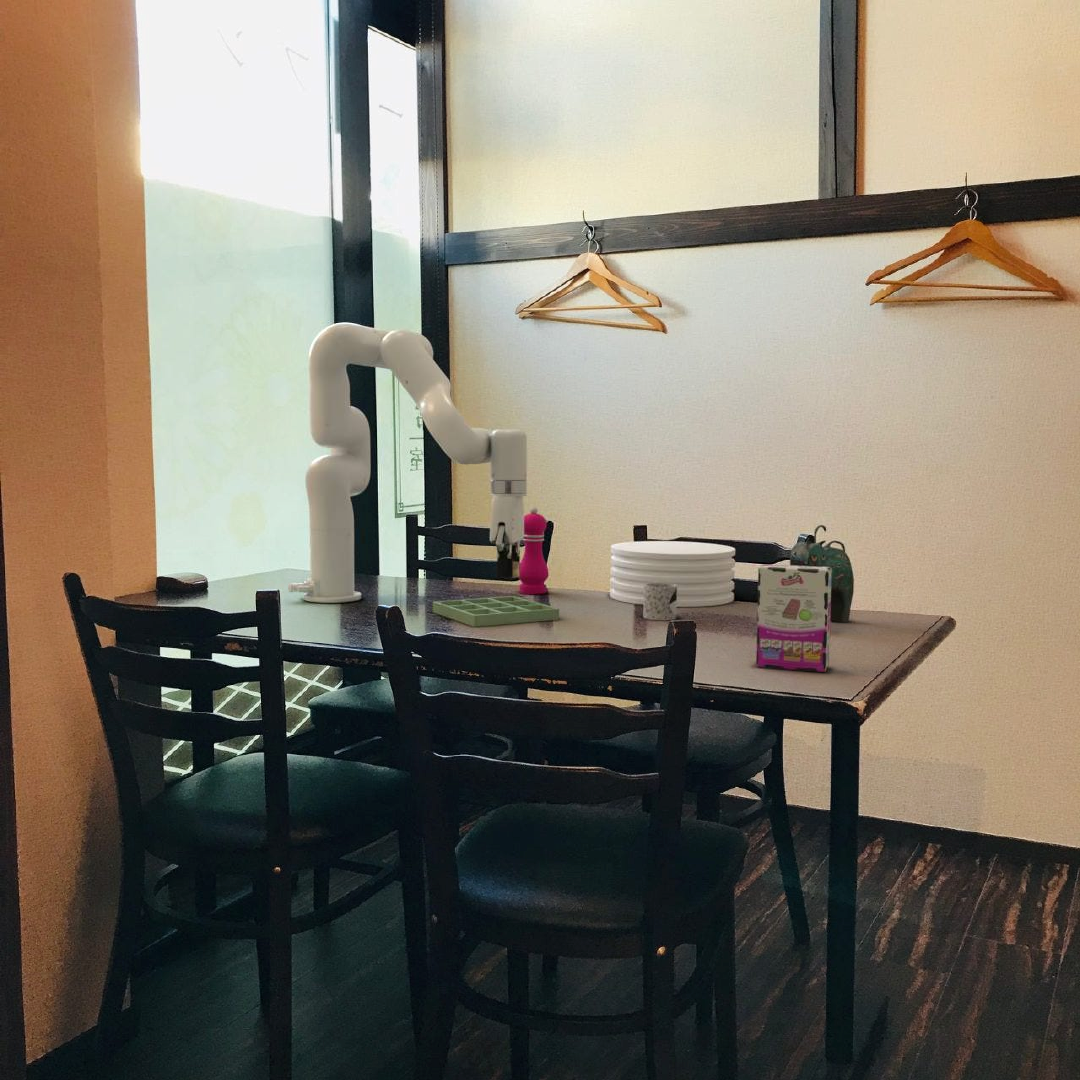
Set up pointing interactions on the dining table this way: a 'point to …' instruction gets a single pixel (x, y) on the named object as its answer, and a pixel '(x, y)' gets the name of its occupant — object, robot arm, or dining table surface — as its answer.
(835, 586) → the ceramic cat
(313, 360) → the robot arm
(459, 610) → the grid
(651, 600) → the mug
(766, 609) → the candy bar box
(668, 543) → the plate stack
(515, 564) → the token
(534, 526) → the pepper mill
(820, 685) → the dining table surface
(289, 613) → the dining table surface
